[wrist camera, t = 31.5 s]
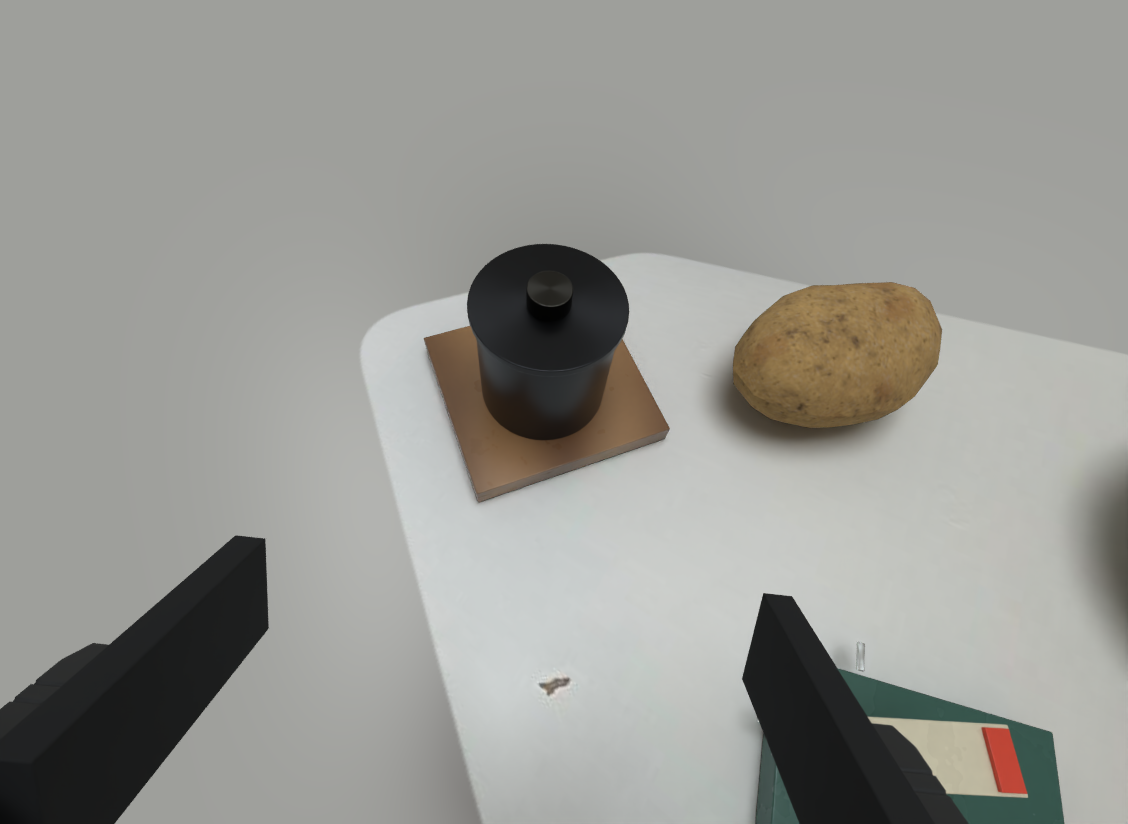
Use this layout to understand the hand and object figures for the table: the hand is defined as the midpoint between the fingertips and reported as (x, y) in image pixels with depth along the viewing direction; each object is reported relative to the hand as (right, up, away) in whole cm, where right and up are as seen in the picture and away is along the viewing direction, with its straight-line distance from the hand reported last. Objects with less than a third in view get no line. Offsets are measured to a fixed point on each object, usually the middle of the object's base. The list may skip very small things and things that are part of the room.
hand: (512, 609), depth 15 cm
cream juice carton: (+16, -12, +13) cm, 24 cm away
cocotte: (0, +7, +23) cm, 24 cm away
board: (0, +6, +24) cm, 25 cm away
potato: (+18, +7, +26) cm, 32 cm away
